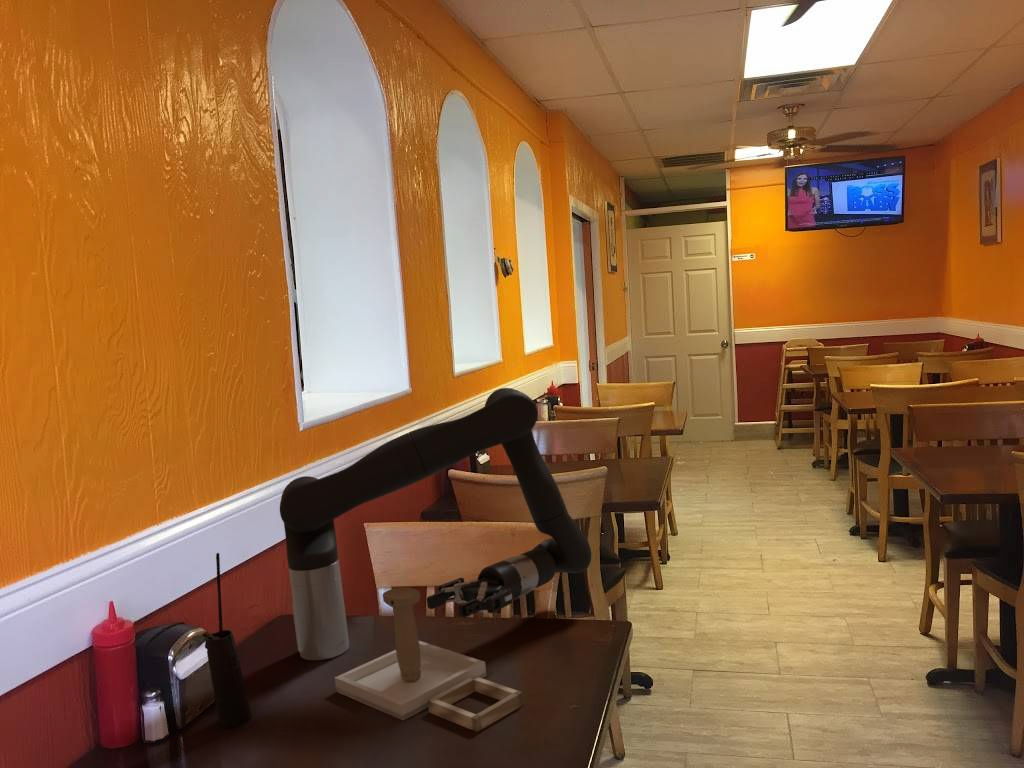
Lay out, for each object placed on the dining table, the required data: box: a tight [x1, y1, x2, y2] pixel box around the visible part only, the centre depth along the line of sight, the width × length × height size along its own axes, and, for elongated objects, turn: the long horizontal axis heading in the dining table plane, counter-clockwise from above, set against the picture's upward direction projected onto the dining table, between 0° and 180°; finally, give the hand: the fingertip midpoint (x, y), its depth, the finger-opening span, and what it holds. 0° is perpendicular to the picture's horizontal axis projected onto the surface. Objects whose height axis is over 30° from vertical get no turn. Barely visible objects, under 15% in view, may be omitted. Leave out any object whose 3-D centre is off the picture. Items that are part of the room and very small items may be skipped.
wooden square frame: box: [427, 676, 525, 733], centre depth 134 cm, size 11×10×2 cm
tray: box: [334, 640, 487, 721], centre depth 146 cm, size 18×18×2 cm
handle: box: [382, 587, 421, 682], centre depth 145 cm, size 5×6×15 cm
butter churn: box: [202, 552, 253, 729], centre depth 138 cm, size 9×10×28 cm
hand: (444, 608), depth 151 cm, fingers open, 8 cm apart
